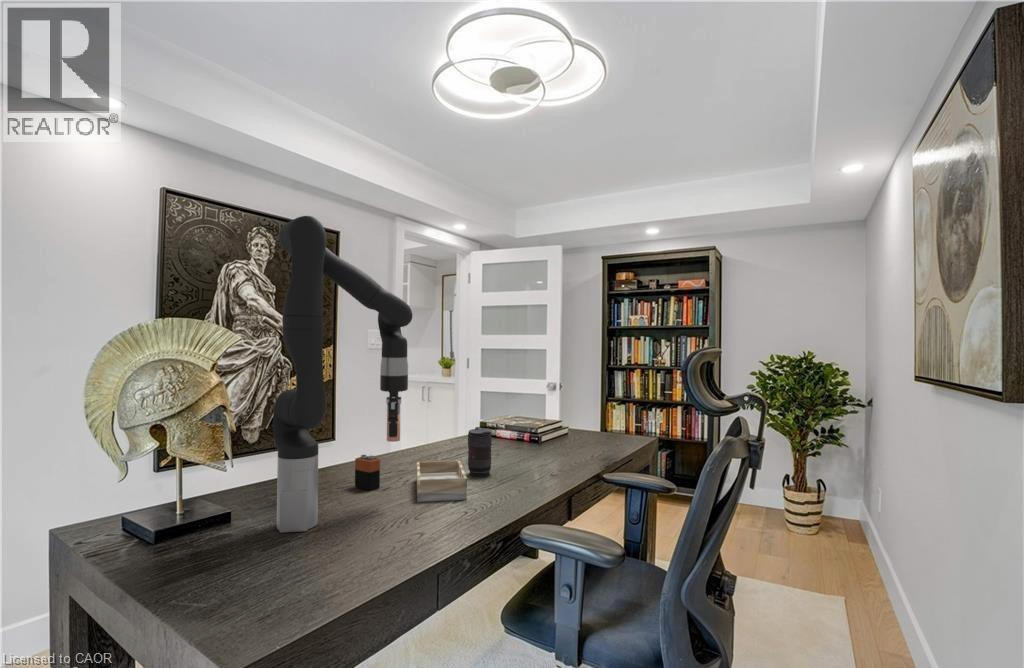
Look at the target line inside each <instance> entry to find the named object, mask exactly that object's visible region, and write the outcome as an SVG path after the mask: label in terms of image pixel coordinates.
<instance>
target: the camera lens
mask: <svg viewBox="0 0 1024 668" xmlns="http://www.w3.org/2000/svg"><path fill="white" fill-rule="evenodd" d="M492 436H493V435H492V430H490V429H488V428H474V429H473V428H471V429H469V430H468V433H467V447H468V448H467V449H468V452H467V453H468V454H467V455H468V456H467V468H468V471H469V476H471V477H476V478H483V477H484V478H485V477H488V476H490V473H491V472H490V471H491V470H492V468H491V467H492V438H493V437H492Z"/></svg>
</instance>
